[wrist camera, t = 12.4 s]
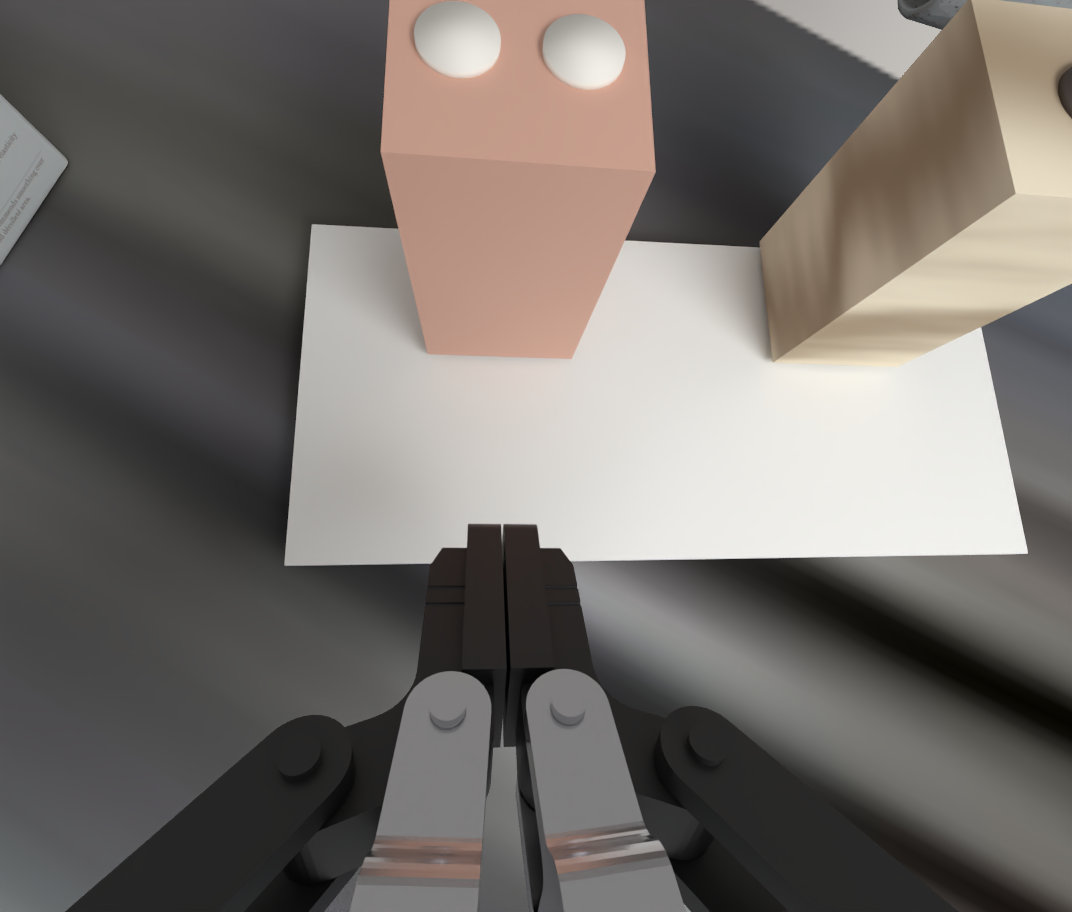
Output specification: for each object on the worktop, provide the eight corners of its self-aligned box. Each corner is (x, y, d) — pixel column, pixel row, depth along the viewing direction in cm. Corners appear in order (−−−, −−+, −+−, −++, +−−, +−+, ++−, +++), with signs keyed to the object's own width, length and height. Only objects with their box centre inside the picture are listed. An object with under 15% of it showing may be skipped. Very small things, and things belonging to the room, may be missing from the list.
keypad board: (941, 274, 23) (966, 258, 22) (996, 554, 20) (1027, 553, 19) (321, 244, 20) (311, 224, 19) (297, 565, 18) (284, 565, 16)
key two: (571, 358, 19) (658, 165, 10) (427, 354, 18) (379, 144, 9) (568, 233, 20) (644, -47, 11) (432, 224, 19) (392, -77, 10)
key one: (897, 366, 20) (1236, 204, 11) (772, 362, 19) (1022, 188, 10) (878, 248, 21) (1173, 13, 12) (759, 241, 20) (976, -11, 12)
